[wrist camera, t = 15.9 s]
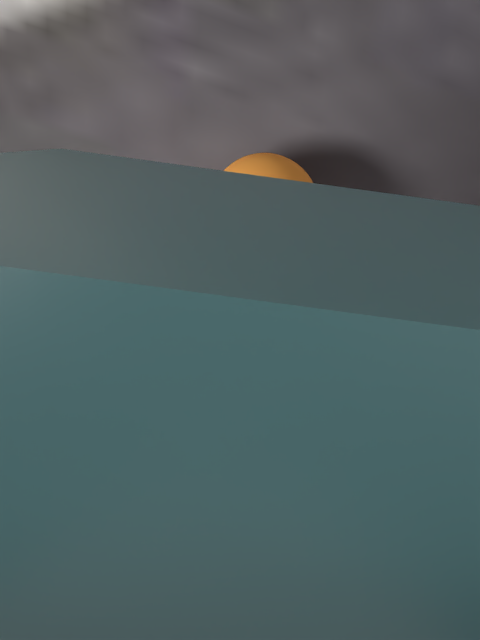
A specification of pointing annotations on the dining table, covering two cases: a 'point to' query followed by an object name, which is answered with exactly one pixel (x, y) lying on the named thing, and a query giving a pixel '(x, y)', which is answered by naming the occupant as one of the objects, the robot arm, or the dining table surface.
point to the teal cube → (234, 406)
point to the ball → (269, 167)
